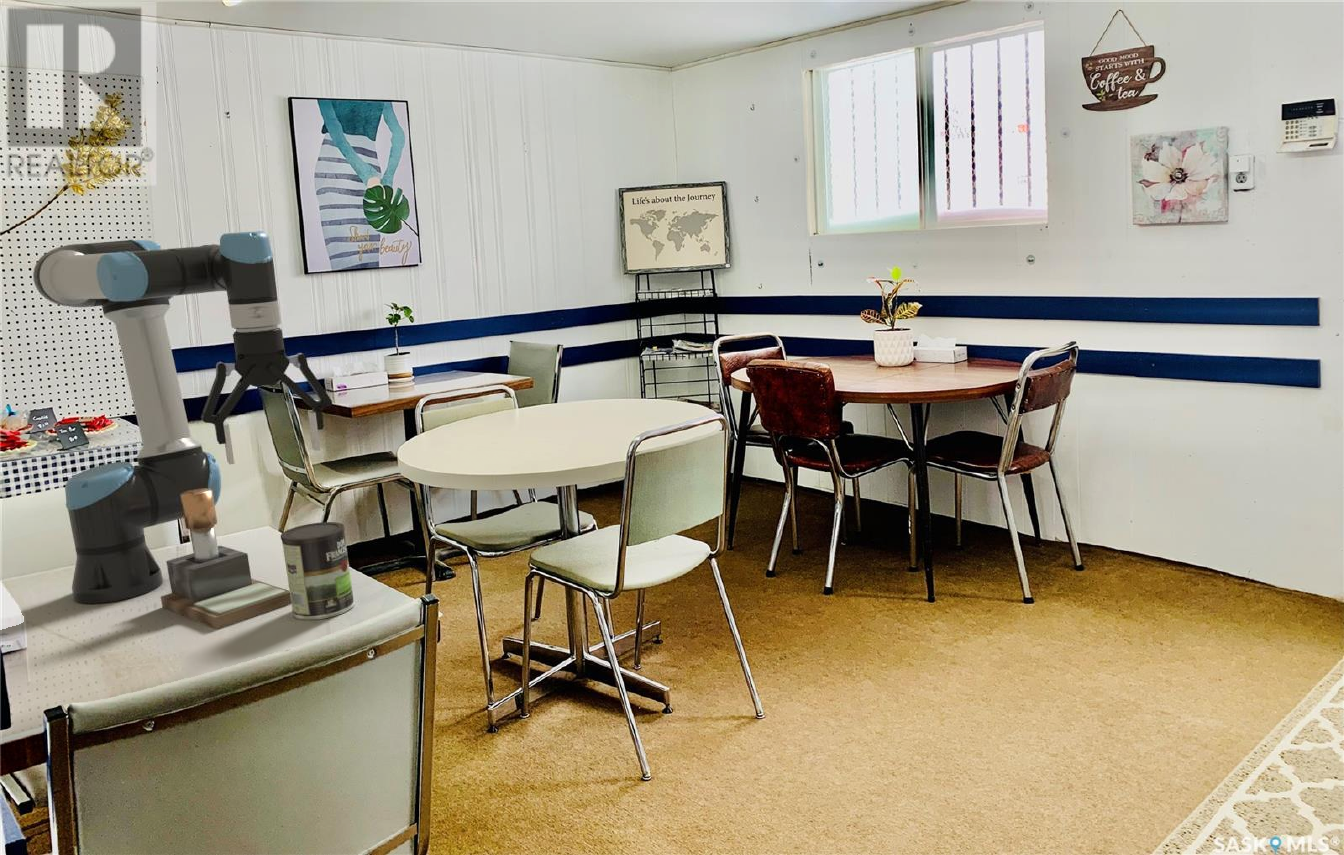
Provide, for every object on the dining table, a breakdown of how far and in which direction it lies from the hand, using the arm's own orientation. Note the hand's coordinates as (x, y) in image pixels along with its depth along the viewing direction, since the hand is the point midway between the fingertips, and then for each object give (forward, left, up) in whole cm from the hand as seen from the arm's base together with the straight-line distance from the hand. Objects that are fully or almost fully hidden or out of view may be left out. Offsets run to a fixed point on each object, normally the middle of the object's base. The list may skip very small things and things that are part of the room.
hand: (274, 456), depth 179 cm
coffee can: (+3, +3, -28) cm, 28 cm away
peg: (-20, -5, -25) cm, 32 cm away
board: (-15, -5, -27) cm, 31 cm away
